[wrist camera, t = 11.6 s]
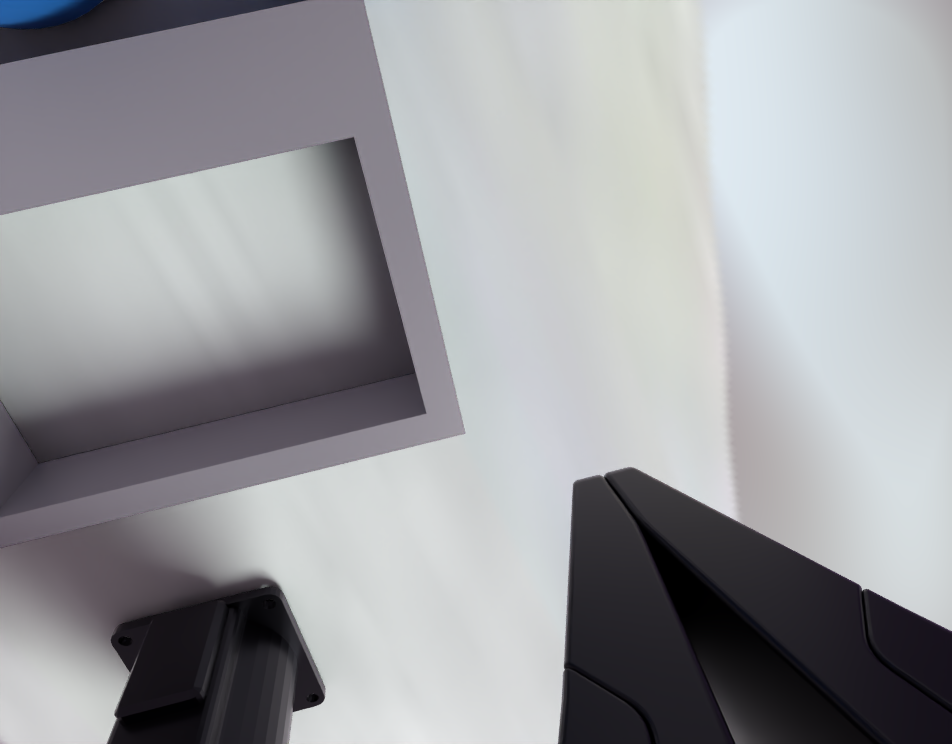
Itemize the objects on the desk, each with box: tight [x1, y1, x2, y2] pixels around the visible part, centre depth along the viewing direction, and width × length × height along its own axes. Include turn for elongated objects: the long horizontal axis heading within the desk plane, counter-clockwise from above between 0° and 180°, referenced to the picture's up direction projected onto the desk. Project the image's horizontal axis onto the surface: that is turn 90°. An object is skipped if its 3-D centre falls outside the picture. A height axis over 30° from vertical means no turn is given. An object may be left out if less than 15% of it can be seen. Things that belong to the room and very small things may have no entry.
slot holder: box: [0, 0, 465, 548], centre depth 16 cm, size 21×15×4 cm
